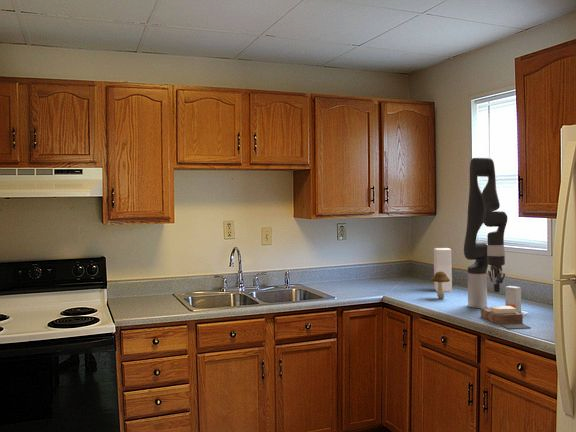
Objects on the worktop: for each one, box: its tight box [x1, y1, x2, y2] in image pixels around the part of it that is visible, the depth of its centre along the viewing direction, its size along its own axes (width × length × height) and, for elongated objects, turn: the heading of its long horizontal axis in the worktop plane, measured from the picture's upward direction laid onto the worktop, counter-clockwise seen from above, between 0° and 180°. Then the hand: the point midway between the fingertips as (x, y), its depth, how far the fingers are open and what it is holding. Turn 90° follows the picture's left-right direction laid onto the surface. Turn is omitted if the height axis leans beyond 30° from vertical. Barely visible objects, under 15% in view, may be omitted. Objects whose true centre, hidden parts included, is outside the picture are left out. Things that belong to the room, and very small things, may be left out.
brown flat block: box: [480, 307, 524, 325], centre depth 250 cm, size 16×12×4 cm
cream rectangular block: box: [489, 305, 516, 314], centre depth 248 cm, size 6×9×2 cm, turn 94°
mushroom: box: [429, 272, 450, 300], centre depth 303 cm, size 9×11×15 cm
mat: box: [498, 323, 531, 330], centre depth 238 cm, size 8×10×1 cm
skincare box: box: [504, 285, 522, 313], centre depth 267 cm, size 6×4×12 cm
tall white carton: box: [433, 247, 453, 293], centre depth 328 cm, size 9×9×25 cm
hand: (496, 292), depth 255 cm, fingers closed
